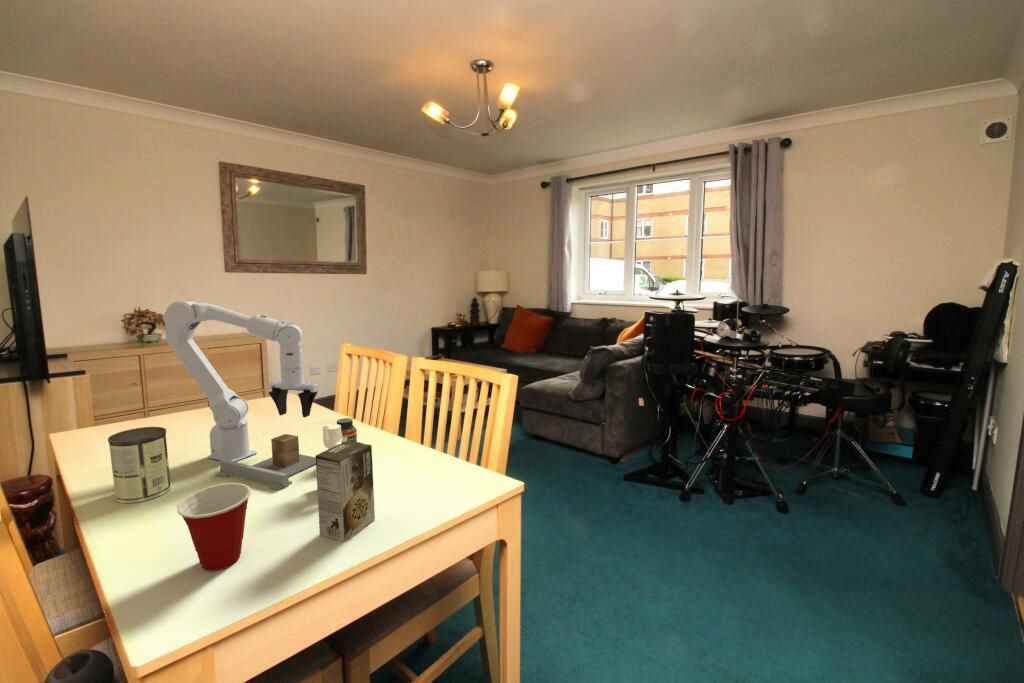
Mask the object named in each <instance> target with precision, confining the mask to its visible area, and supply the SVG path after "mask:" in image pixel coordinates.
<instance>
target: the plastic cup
mask: <svg viewBox="0 0 1024 683" xmlns="http://www.w3.org/2000/svg"><path fill="white" fill-rule="evenodd" d="M251 493H252V491H251V487H250V486H249V485H247V484H244V483H241V482H239V483H238V482H227V483H219V484H216V485H213V486H212V485H211V486H209V487H205V488H203V489H200V490H197V491H195V492H193V493H191V494H190V495H188V496H186V497H185V498H183V499H182V500H181V501H180V502H179V503H178V505H176V511H177V512H176V513H177V514H178V515H179V516H181V517H182V519H183V521H184V522H185V524H186V526H187V528H188V531H189V535H190V537H191V541H192V543H193V544H192V545H193V546H194V550H195V552H196V553H197V556H198V560H199V564H200V566H201V568H202V569H203V570H205V571H210V572H212V571H220V570H223V569H226V568H227V569H228V568H229V567H231V566H233V565H234V564H236V563H237V562H238V561H239V559H240V558H241V553H242V547H243V540H244V534H245V525H246V524H245V522H246V515H247V510H248V504H249V499H250V498H249V497H250V496H251Z"/></svg>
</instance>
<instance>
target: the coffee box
mask: <svg viewBox="0 0 1024 683" xmlns="http://www.w3.org/2000/svg"><path fill="white" fill-rule="evenodd" d="M372 445H373V444H368V443H367V444H366V443H363V442H358V441H357V442H354V441H345V442H343V443H341V444H339V445H337V446H335V447H333V448H330V449H328V448H327V449H326V450H324V451H322V452H320V453H317V454H316V455H315V456H314V457H316V465H315V470H316V473H317V475H316V490H317V508H318V524H319V527H318V528H319V535H320V536H322V537H327V538H330V539H333V540H336V541H341V542H346V541H347V540H350V538H352V537H353V536H354V535H356V534H357V533H358V532H360V531H361V530H362V529H363V528H365V527H366V526H368V525H370V524H371V523H372V522H373V521H375V519H376V515H375V512H376V511H375V495H374V494H375V493H374V492H375V491H374V470H373V469H374V468H373V466H374V465H373V449H372ZM316 473H315V474H316Z"/></svg>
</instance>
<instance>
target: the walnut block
mask: <svg viewBox="0 0 1024 683" xmlns="http://www.w3.org/2000/svg"><path fill="white" fill-rule="evenodd" d="M299 443H300V442H299V436H298V435H293V434H290V433H289V434H288V433H285V434H281V435H279V436H276V437H273V438H271V454H272V455H271V456H272V457H271V458H272V459H273V465H275V466H280V467H284V468H286V467H288V466H291V465H293V464H295V463H298V462H300V461H299V454H300V447H299Z"/></svg>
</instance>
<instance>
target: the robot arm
mask: <svg viewBox="0 0 1024 683" xmlns="http://www.w3.org/2000/svg"><path fill="white" fill-rule="evenodd" d="M162 320H163V321H164V324H165V339H166V343H167V345H168V346H169V347H170V349H171V350H172V351H173V353H174V354H175V356H176V357H177V358H178V360H179V361H180V362H181V364H182V365H183V366H184V368H185V369H186V370H187V372H188V374H189V375H190V376H191V378H192V379H193V380H194V381H195V383H196V384H197V385H198V387H199V388H200V389H201V391H202V392H203V394H204V395H205V396H206V397H207V399H208V405H209V409H210V411H211V412H212V414H213V420H214V422H215V425H214V426H212V427H211V429H210V432H209V445H210V448H209V449H210V455H208V456H207V458H208V459H213V460H217V461H222V460H228V461H232V462H237V461H240V460H243V459H246V458H247V457H251V456H254V455H256V454H258V451H256V450H251V449H250V440H249V438H250V436H249V425H248V420H247V419H246V417H245V416H246V415H247V414H248V412H249V404H248V402H247V401H246V399H244V398H242V397H240V396H239V395H238V394H237V393H236V392H235V390H232V389H230V388H229V387H228V386H227V385H226V383H225V382H224V381H223V379H222V377H220V375H219V374H218V372H217V370H215V368H214V367H213V365H212V364H211V363H210V360H208V357H206V356H205V354H204V353H203V351H202V349H200V348H199V346H198V345H197V343H196V342H195V340H194V335H195V332H196V331H197V330H196V329H197V327H198V326H199V324H201V323H202V322H207V321H218V322H221V323H225V324H228V325H233V326H235V327H240V328H244V329H246V330H247V332H248V333H249V334H250V335H251V336H255V337H258V338H260V339H264V340H268V341H272V342H277V343H278V344H279V362H280V363H279V365H280V381H277V380H276V381H275V380H273V381H269V382H268V383H267V384H268V390H271V391H269V392H268V396H269V397H270V398H271V399H272V401H273V402H274V405H275V406H276V409H277V411H278V415H279V416H284V415H286V414H287V411H288V409H287V408H288V407H287V399H288V392H289V391H298V392H299V393H298V394H297V396H298V398H299V401H300V405H301V414H302V418H308V417H309V416H311V415H310V414H311V409H312V406H313V403H314V400H315V398H316V396H317V394H318V391H319V384H318V383H311V382H308V381H307V382H306V381H305V378H304V360H303V359H304V357H303V350H302V348H303V346H302V341H301V340H302V339H303V331H302V329H301V328H300V326H298V325H296V324H295V323H287V321H285V320H283V319H282V320H281V321H280V320H277V319H274V318H270V317H269V315H268V314H266V313H262V314H261V315H260V314H256V315H254V316H253V315H252V316H249V315H245V314H243V313H239V312H237V311H235V310H234V311H233V310H231V309H228V308H225V307H222V306H219V305H216V304H213V303H209V302H205V301H204V302H203V301H202V302H201V301H198V300H196V299H195V300H194V299H186V300H185V301H184V300H183V301H180V300H179V301H174V302H172V303H170V304H168V306H167V307H166V310H165V312H164V313H163V316H162Z"/></svg>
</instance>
